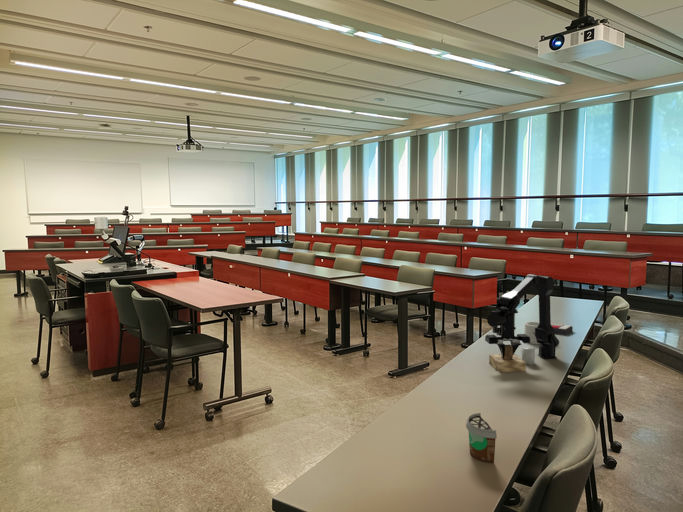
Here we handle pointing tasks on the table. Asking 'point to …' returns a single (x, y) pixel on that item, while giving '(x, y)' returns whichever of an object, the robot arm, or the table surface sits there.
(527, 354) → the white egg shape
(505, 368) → the socket block
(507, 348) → the square peg
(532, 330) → the mug
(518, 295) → the robot arm
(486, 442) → the food container
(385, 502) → the table surface
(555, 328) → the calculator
